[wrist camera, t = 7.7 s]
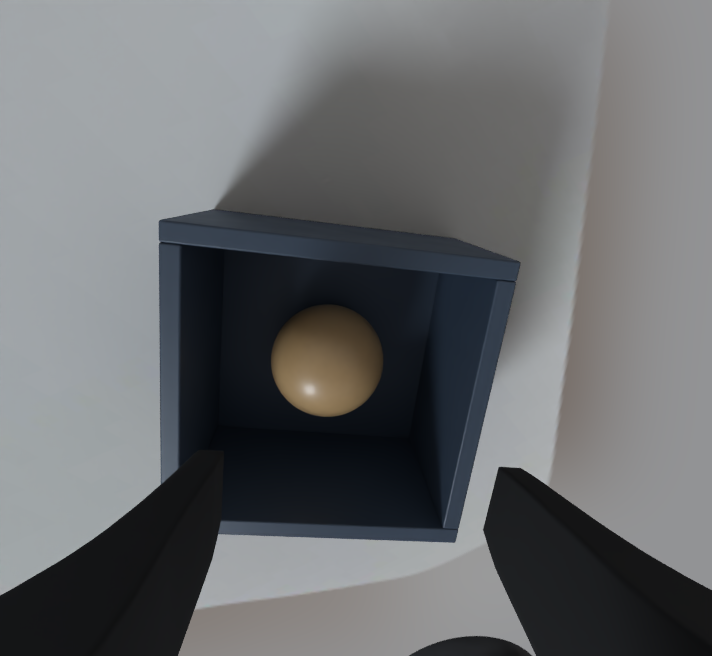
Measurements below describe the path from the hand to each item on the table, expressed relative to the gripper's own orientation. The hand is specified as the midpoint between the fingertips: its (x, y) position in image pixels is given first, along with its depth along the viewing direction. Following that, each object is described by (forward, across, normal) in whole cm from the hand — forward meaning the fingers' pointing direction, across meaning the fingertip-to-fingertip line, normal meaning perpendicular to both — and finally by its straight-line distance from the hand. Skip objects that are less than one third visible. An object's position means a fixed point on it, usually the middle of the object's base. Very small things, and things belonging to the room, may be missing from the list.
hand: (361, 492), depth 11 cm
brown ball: (+9, +1, -1) cm, 9 cm away
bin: (+9, +1, -1) cm, 9 cm away
